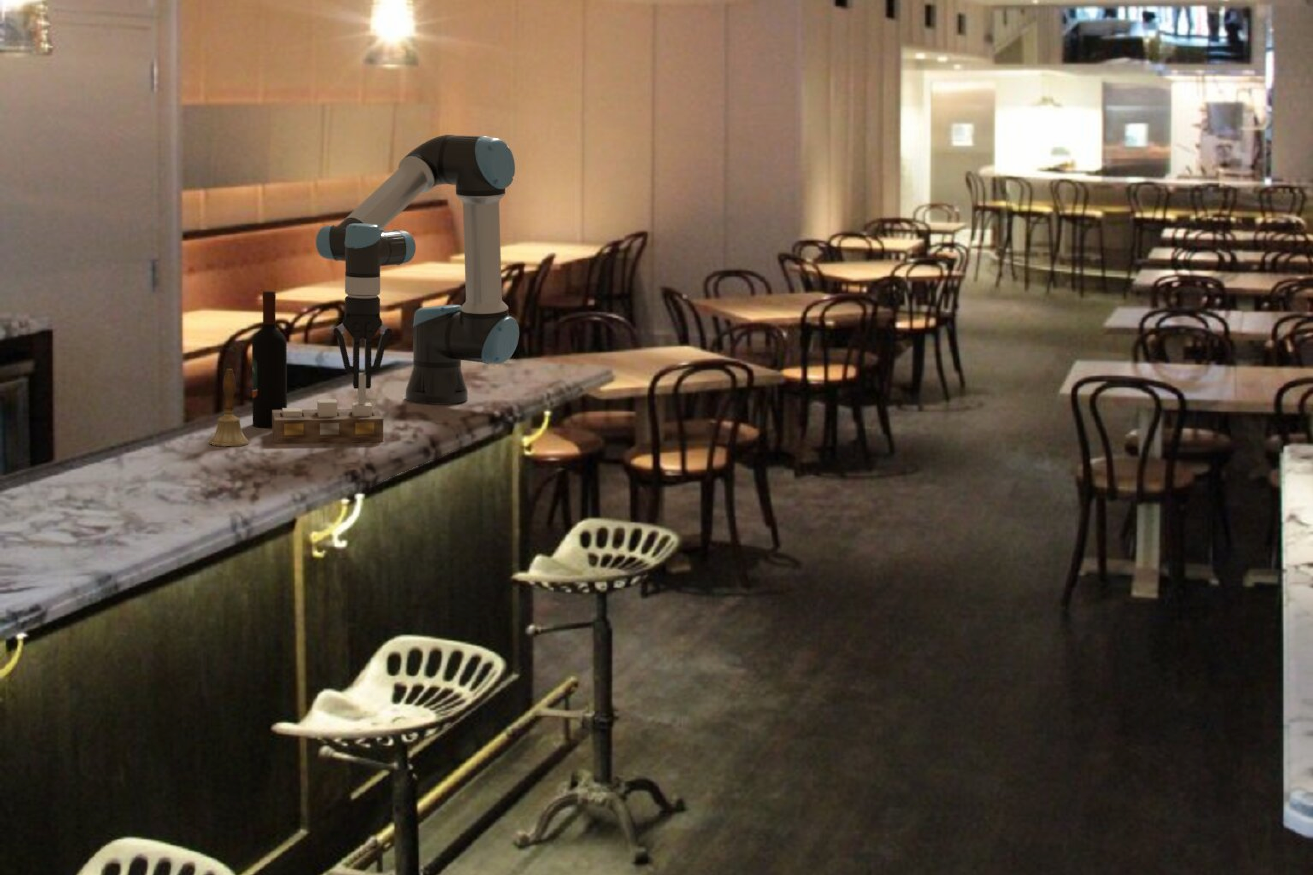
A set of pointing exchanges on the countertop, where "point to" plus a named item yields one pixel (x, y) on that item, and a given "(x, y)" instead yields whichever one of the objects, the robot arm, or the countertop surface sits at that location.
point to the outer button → (291, 412)
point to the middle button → (326, 407)
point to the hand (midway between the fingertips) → (361, 403)
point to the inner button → (361, 409)
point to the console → (327, 427)
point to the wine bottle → (268, 366)
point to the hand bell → (229, 418)
